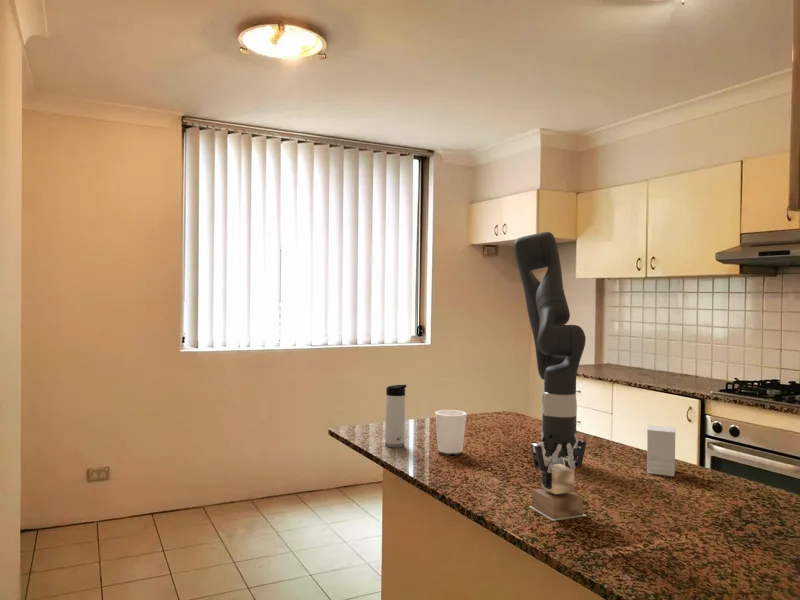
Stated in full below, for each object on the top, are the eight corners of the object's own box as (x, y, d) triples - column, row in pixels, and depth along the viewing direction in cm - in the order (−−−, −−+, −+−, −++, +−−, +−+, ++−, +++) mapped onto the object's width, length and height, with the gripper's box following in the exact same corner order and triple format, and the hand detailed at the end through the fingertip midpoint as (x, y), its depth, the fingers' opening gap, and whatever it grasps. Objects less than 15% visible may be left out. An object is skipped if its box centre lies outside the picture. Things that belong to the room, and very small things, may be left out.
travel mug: (403, 448, 194) (404, 386, 194) (383, 447, 196) (384, 385, 195) (406, 443, 200) (408, 383, 200) (387, 442, 202) (388, 382, 202)
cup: (429, 455, 187) (430, 414, 187) (439, 447, 196) (440, 408, 196) (460, 458, 183) (461, 417, 183) (469, 451, 193) (470, 411, 192)
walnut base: (560, 503, 143) (561, 486, 143) (583, 514, 135) (583, 497, 135) (532, 506, 140) (532, 489, 140) (553, 519, 132) (553, 501, 132)
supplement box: (674, 470, 176) (675, 427, 176) (674, 477, 169) (675, 432, 169) (647, 466, 179) (648, 424, 179) (646, 473, 172) (647, 429, 172)
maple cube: (560, 485, 141) (560, 463, 141) (573, 491, 136) (574, 469, 136) (542, 487, 139) (542, 465, 139) (555, 494, 134) (555, 471, 134)
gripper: (574, 407, 144) (573, 479, 144) (523, 411, 138) (521, 485, 138) (596, 413, 137) (594, 488, 137) (542, 417, 131) (541, 495, 131)
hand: (557, 486), depth 138 cm, fingers closed on maple cube, 5 cm apart
